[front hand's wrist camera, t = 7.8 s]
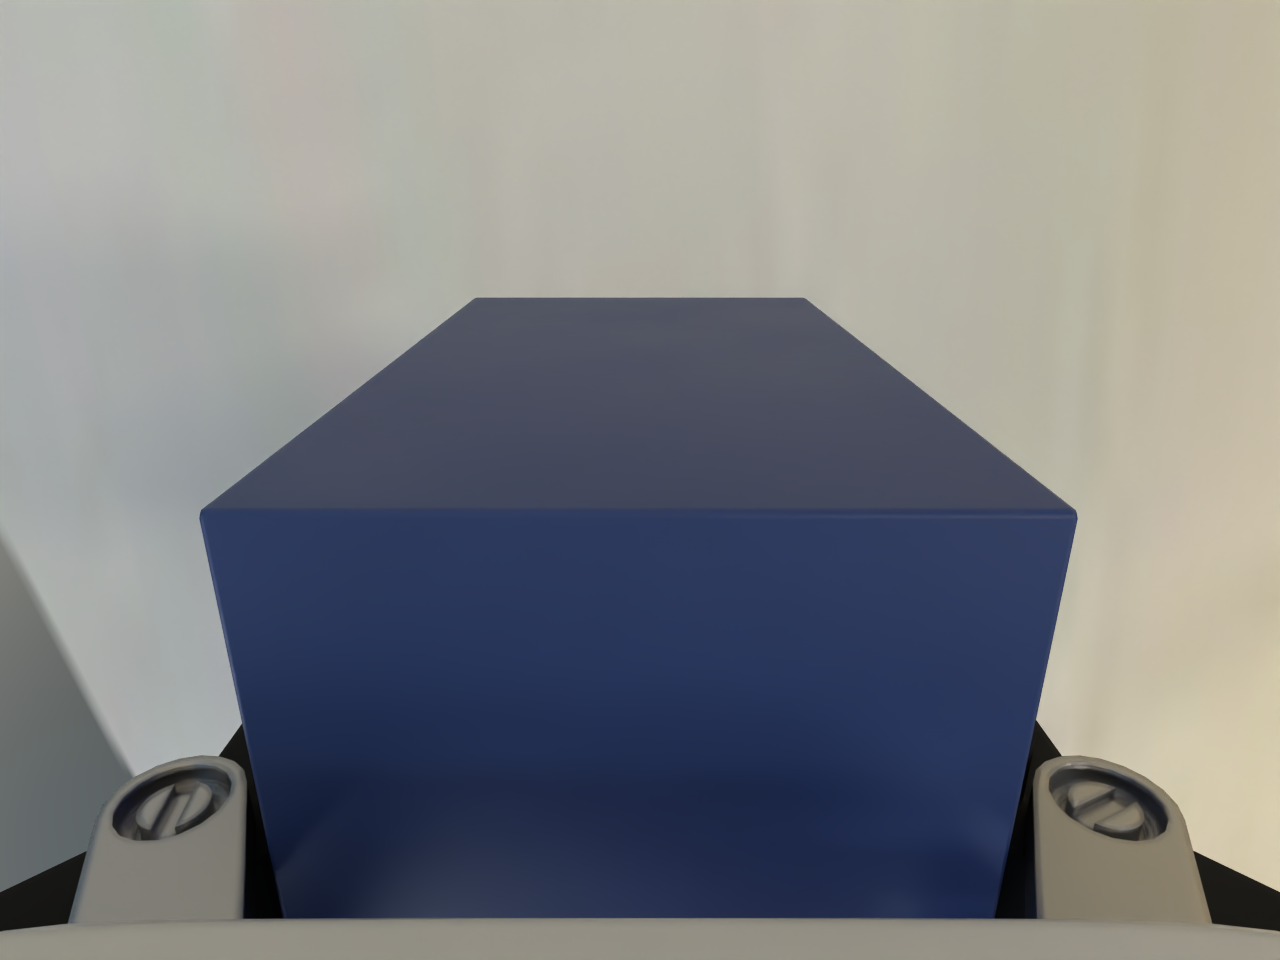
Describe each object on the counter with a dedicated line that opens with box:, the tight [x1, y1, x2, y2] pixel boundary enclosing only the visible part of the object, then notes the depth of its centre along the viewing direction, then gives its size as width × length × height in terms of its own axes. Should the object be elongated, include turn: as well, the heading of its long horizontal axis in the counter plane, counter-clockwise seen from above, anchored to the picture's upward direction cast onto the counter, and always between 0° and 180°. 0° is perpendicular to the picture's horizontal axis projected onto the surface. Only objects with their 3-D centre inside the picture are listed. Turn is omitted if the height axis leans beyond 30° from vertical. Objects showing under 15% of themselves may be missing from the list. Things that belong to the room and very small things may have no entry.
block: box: [199, 298, 1078, 919], centre depth 12 cm, size 6×9×10 cm
